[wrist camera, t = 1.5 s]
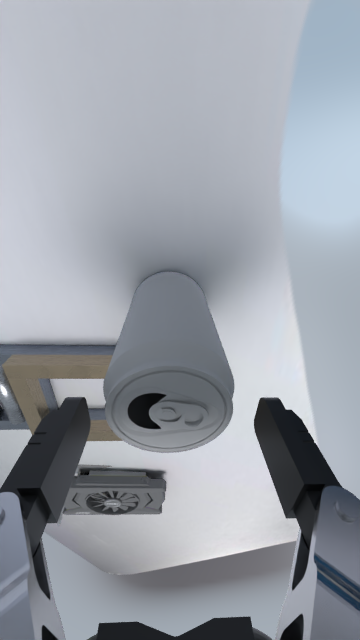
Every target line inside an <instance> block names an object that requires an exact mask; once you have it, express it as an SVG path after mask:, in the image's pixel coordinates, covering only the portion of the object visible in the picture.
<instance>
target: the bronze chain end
mask: <svg viewBox="0 0 360 640" xmlns="http://www.w3.org/2000/svg"><path fill="white" fill-rule="evenodd" d="M112 356H113V355H12V356H11V357H10V358H9V359H8V360H7V361H6V362H5V363H4V364H3V365H2V367H3V369H4V372H5V374H6V376H7V378H8V381H9V383H10V385H11V388H12V390H13V392H14V394H15V397H16V399H17V401H18V403H19V406H20V408H21V410H22V412H23V415H24V417H25V419H26V421H27V424H28V426H29V428H30V431H31V433H32V435H34V432H35V430H36V428H37V427H38V425H39V423H40V422H41V420H42V419H43V418H44V417H45V416H46V415H48V414H49V413H50V411H49V408H48V406H47V403H46V400H45V397H44V394H43V391H42V389H41V386H40V383H39V380H38V379H105V376H106V373H107V370H108V367H109V365H110V362H111V359H112ZM87 441H123V440H122V439H120V438H119V437H118V436H117V435H116V434H115V433H114V432H113V431H112V429H111V428H110V427H109V425H108V423H107V420H91V426H90V432H89V435H88V438H87Z"/></svg>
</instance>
